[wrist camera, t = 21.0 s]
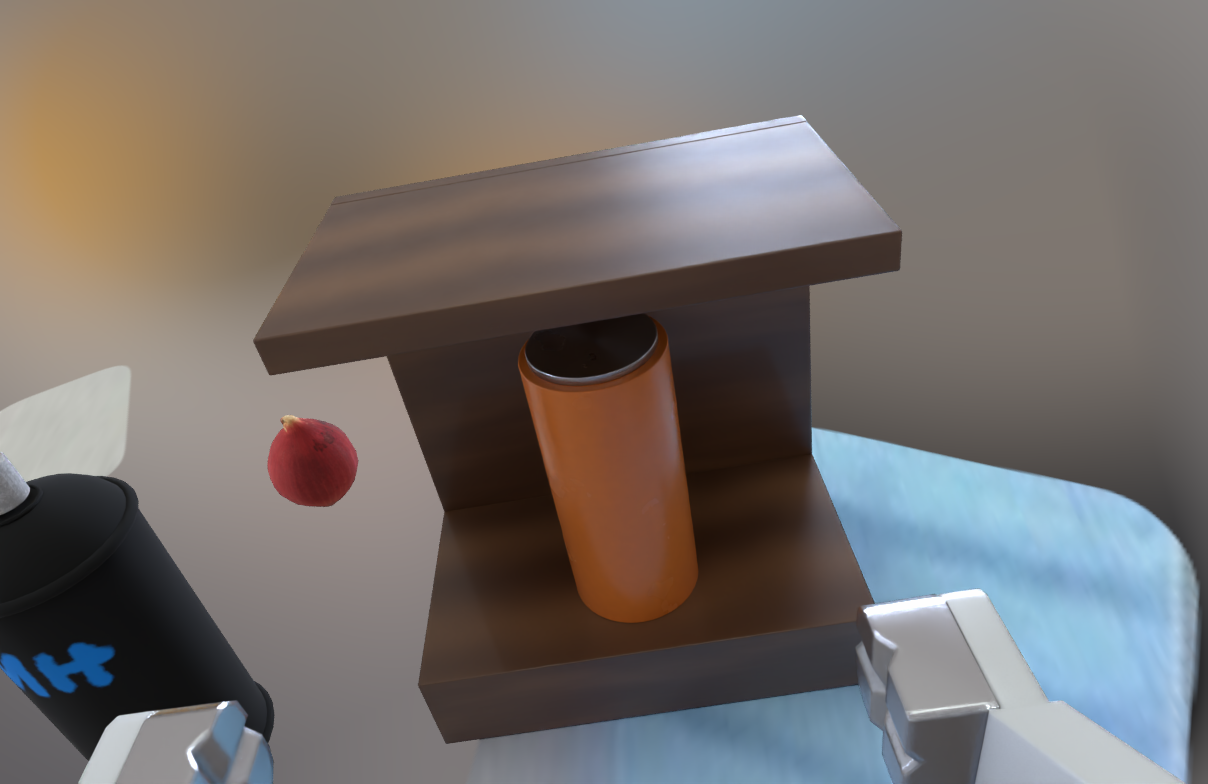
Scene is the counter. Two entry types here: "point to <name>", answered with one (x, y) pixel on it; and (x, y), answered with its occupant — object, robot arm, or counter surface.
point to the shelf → (703, 394)
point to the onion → (311, 462)
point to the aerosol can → (104, 612)
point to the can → (614, 462)
